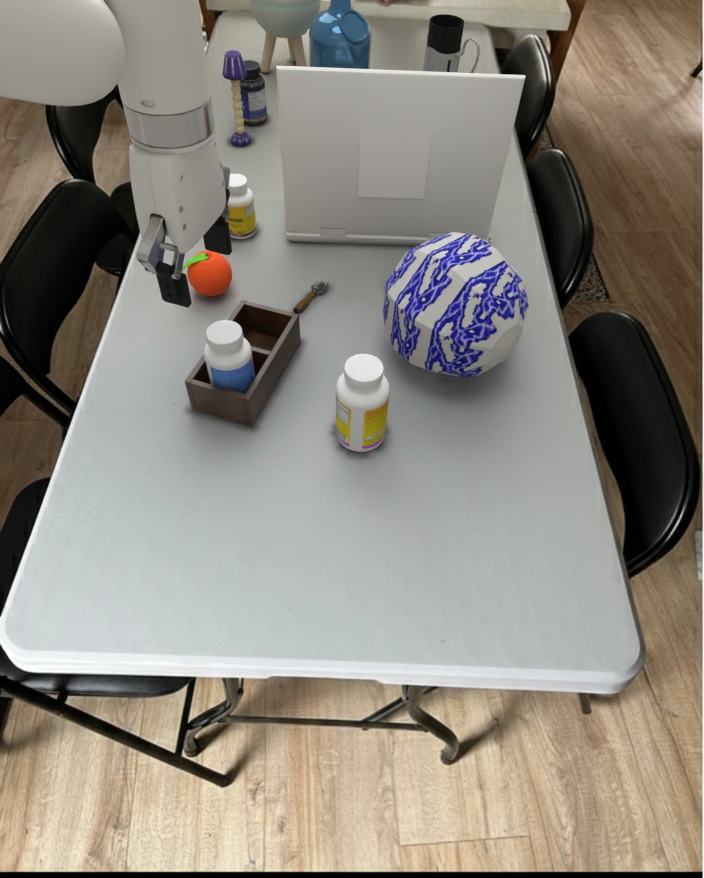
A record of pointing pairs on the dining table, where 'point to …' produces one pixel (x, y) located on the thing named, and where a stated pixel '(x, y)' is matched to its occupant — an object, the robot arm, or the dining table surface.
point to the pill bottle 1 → (228, 357)
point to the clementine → (209, 273)
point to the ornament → (454, 306)
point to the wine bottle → (340, 38)
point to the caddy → (271, 353)
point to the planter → (284, 25)
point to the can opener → (310, 296)
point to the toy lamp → (236, 93)
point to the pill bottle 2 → (253, 95)
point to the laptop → (392, 152)
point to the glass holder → (445, 44)
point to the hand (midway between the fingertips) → (198, 276)
